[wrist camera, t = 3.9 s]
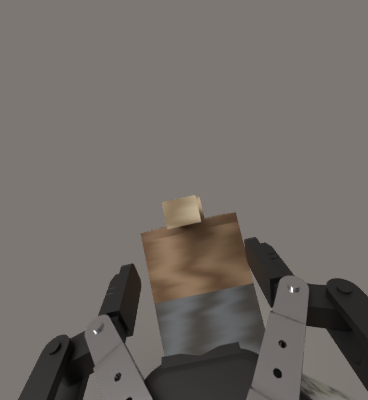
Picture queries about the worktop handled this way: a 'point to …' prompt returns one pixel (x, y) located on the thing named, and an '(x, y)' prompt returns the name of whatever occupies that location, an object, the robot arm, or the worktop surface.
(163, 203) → the wooden key
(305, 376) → the worktop surface
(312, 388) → the worktop surface
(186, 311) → the grey tall block
